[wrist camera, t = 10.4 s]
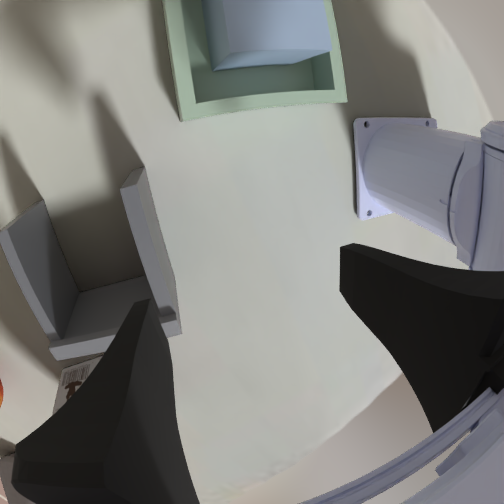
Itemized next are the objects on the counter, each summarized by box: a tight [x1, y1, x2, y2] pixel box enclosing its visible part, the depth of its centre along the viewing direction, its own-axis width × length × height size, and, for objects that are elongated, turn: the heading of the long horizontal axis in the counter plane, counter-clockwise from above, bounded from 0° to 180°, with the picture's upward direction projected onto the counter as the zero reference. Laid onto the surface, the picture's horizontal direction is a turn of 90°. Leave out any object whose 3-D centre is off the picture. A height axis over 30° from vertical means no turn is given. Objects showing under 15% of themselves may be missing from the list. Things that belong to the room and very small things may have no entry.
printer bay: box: [0, 167, 182, 361], centre depth 15 cm, size 8×8×6 cm
